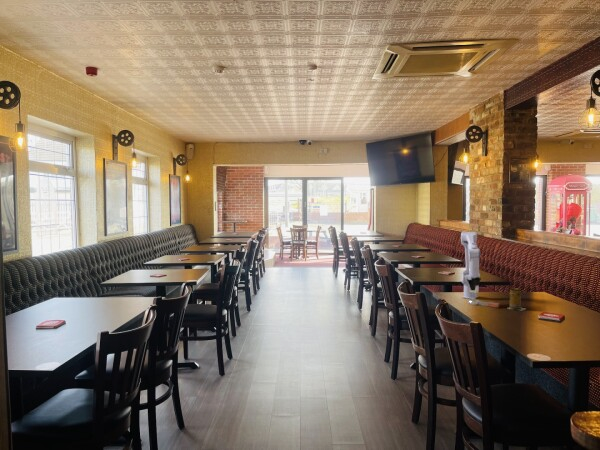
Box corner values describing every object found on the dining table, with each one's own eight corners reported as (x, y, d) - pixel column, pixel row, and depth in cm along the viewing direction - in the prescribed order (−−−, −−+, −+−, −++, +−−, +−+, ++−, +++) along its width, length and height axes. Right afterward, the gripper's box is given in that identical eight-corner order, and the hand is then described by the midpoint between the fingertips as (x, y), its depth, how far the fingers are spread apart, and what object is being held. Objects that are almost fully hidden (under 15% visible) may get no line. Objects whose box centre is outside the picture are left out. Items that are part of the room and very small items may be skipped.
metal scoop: (466, 304, 271) (466, 297, 271) (470, 302, 277) (470, 295, 277) (496, 308, 260) (496, 301, 259) (500, 306, 265) (500, 299, 265)
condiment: (512, 306, 264) (512, 287, 263) (526, 309, 257) (526, 289, 257) (506, 308, 259) (506, 288, 259) (521, 310, 252) (521, 290, 252)
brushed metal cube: (478, 292, 272) (478, 285, 271) (476, 292, 269) (476, 286, 268) (472, 291, 274) (472, 284, 274) (469, 292, 271) (469, 285, 271)
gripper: (472, 266, 279) (472, 287, 279) (463, 268, 268) (462, 290, 269) (483, 267, 274) (483, 288, 275) (474, 269, 264) (474, 292, 264)
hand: (474, 289), depth 271 cm, fingers closed on brushed metal cube, 4 cm apart
